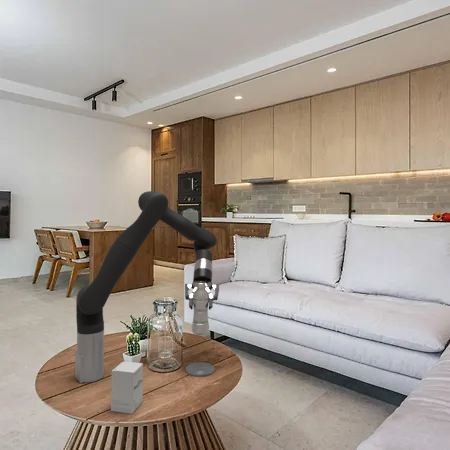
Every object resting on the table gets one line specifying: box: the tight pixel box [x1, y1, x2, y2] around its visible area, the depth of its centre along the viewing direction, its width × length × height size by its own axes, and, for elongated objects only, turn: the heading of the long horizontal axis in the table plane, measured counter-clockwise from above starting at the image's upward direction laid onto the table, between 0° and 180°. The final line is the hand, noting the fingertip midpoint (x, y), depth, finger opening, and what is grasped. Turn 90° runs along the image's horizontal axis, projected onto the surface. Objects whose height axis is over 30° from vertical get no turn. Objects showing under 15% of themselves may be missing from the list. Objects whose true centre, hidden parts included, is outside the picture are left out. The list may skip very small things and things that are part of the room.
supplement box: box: [110, 361, 144, 415], centre depth 111 cm, size 7×7×13 cm
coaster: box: [185, 361, 215, 378], centre depth 137 cm, size 11×11×1 cm
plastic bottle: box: [191, 282, 210, 336], centre depth 137 cm, size 6×7×20 cm
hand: (200, 308), depth 135 cm, fingers closed on plastic bottle, 6 cm apart
